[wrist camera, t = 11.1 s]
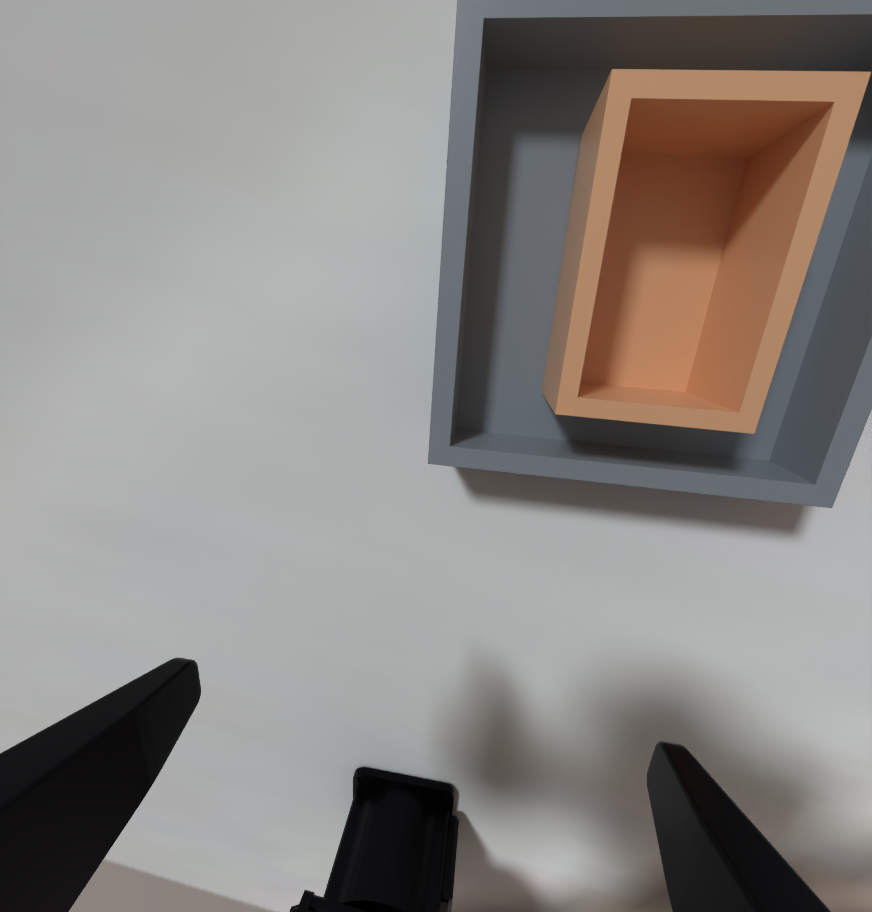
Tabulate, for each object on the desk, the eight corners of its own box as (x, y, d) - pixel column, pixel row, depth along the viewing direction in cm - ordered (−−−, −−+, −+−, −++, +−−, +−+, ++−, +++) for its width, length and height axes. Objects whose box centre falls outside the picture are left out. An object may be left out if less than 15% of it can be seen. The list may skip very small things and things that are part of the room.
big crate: (439, 439, 20) (427, 463, 17) (467, 54, 15) (458, -18, 12) (772, 474, 18) (831, 507, 15) (915, 54, 14) (1046, -30, 10)
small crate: (541, 391, 18) (555, 414, 14) (580, 139, 15) (612, 68, 11) (691, 405, 17) (754, 433, 13) (761, 144, 14) (871, 72, 10)
